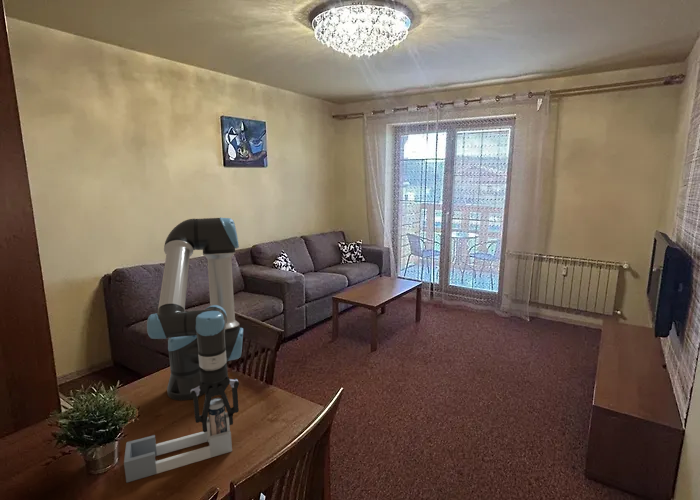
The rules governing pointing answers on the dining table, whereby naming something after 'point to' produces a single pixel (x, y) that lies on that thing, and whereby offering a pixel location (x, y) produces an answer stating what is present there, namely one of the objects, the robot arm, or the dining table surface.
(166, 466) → the end-cap channel
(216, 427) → the beer can
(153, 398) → the dining table surface
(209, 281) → the robot arm
